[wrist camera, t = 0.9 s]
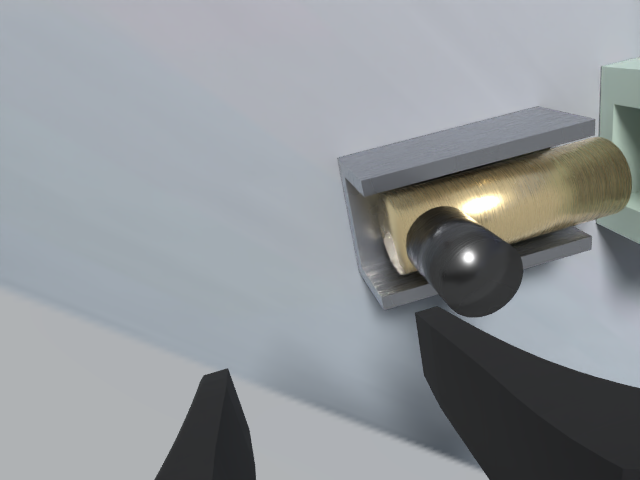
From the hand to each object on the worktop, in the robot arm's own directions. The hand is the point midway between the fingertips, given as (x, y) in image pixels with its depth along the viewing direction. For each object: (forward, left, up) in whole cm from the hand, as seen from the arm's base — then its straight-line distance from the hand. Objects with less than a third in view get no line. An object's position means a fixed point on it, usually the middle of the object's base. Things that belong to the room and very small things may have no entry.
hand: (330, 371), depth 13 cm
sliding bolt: (-8, 0, -8) cm, 12 cm away
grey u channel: (-7, 0, -9) cm, 12 cm away
